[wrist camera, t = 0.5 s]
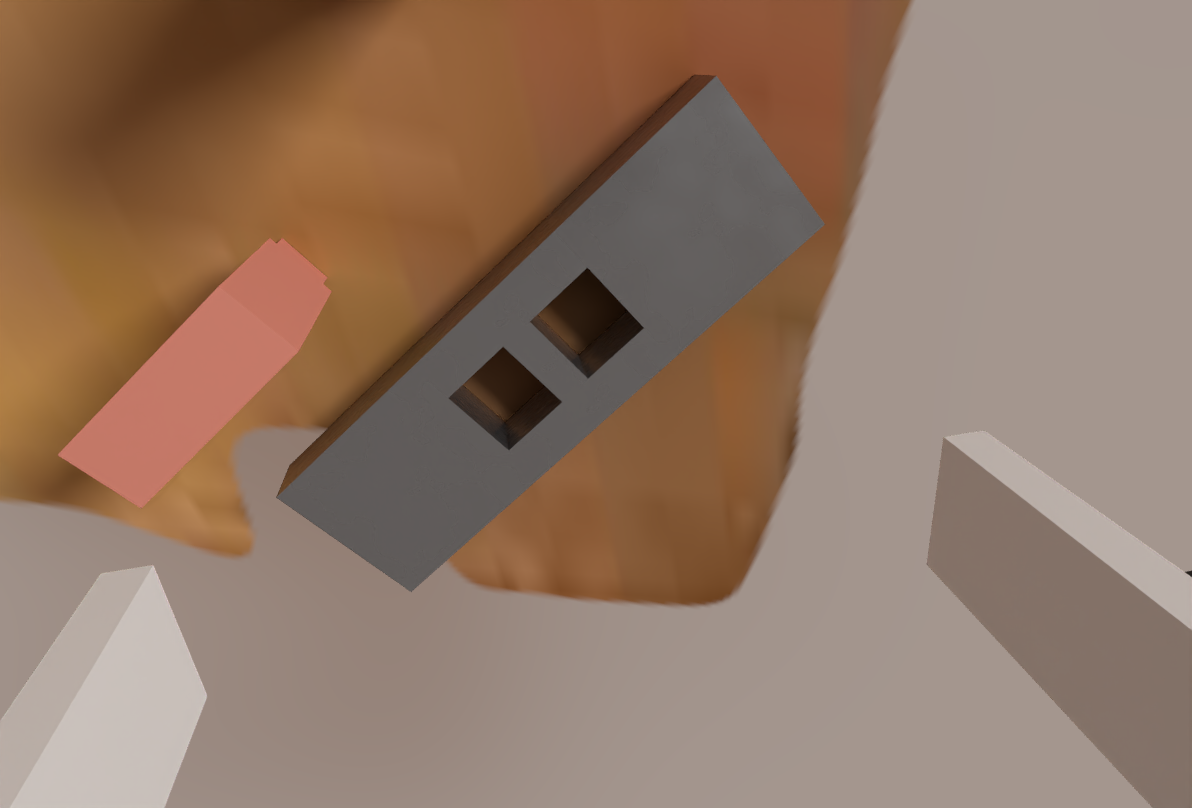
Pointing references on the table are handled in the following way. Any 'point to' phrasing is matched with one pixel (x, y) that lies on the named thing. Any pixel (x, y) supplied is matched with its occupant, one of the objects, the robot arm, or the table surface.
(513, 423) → the rail
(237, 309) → the pink slab
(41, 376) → the table surface
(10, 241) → the table surface
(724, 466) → the table surface
